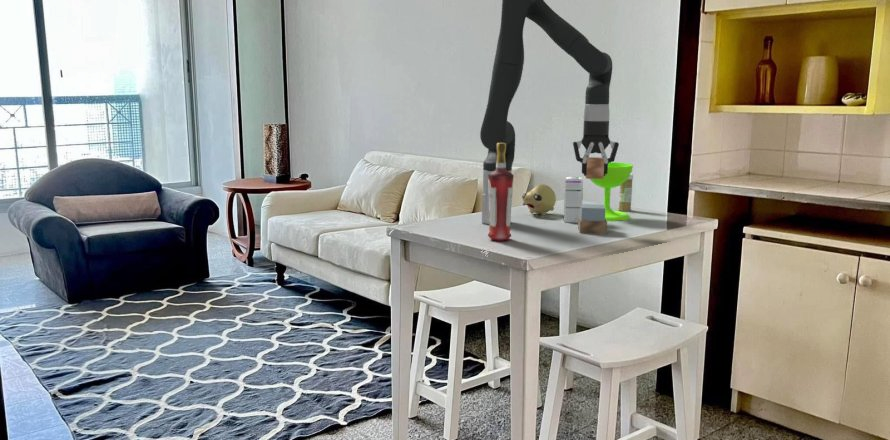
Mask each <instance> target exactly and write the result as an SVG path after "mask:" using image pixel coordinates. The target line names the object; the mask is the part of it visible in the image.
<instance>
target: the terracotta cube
mask: <svg viewBox="0 0 890 440" xmlns="http://www.w3.org/2000/svg"><path fill="white" fill-rule="evenodd" d="M586 164H587V171H586V176H585V178H586V180H587V179H589V180H590V179H603V178H604V159H603V158H602V156H601V157H600V156H599V157H596V156H595V157H594V156H593V157H592V156H589V157H588V158H587V162H586Z"/></svg>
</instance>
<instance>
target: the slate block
mask: <svg viewBox="0 0 890 440" xmlns="http://www.w3.org/2000/svg"><path fill="white" fill-rule="evenodd" d="M580 217H581V221H605V207H604V204H591V203H590V204H588V203H587V204H586V203H582V204H581V213H580Z"/></svg>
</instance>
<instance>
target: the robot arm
mask: <svg viewBox="0 0 890 440" xmlns="http://www.w3.org/2000/svg"><path fill="white" fill-rule="evenodd" d="M501 1H502V2H501V17H500V18H501V19H500V28H499V34H498V39H497V43H496V48H495V49H496V50H495V56H494V60H493V65H492V72H491V73H492V74H491V81H490V85H489V93H488V98H487V99H488V100H487V104H486V109H485V112H484V116H483V121H482V124H481V127H480V132H479V136H480V141H481V143H482V145H483V146H484V147H485V148H486V149H488V150H487V156H486V158H485V159H484V161H483V163H482V164H483V165H482V167H483V168H482V171H483V172H482V173H483V174H482V196H481V197H482V200H481V223H482V224H485V225H486V224H487V225H489V195H488V175H489V174H490V173H491V172H493V171H495V170H496V162H497V143H506V151H505V162H506V171H508V172H510V173H512V174H513V172H512V171H513V169H512V168H513V163H514V160H515V151H516V132H515V128H514V126H513V124H512V123H511V122H510V121H508V116H509V110H510V106H511V103H512V102H513V100H514V97H515V95H516V92H517V91H518V88H519V86H520V83H521V80H522V76H523V72H524V71H523V70H524V65H525V48H524V47H525V46H524V26H525V21H526V18H527V19H528V20H530V21H532V22H534V23H535V24H536V25H537V26H539V27H540V28H541V29H542V30H543V31H544V32H545V33H546V34H547V35H548V36H549V38H550V39H551V40H552V41H553V42H554V43H555V45H557V46H558V47H559V48H560V49H562V51H564V52H565V53H566V54H567V55H569V56H570V57H571V58H573V59H574V60H575V61H576V63H577V64H578V65H579V66H580V67H581V68H582V69H584V71H586V72H587V73H588V75H589V76H588V85H587V86H586V89H585V97H584V98H585V101H584V110H583V134H582V138H581V140H579V141H572V146H573V150H574V155H575V160H576V161H577V162H579V163H581V174H582V175H583V176H586V171H587V164H586V162H587V158H588V157H590V154H595V153H597V154H600V156H601V157H602V158H603V159H604V176H605V174H607V172H608V163H610V162H614V161H615V159H616V155H617V152H618V149H619V146H620V144H619V142H618V141H611V139H610V137H609V135H610V86H611V80H612V73H613V59H612V57H611V56H610V55H609V54H608V53H606V52H603V51H601V50H600V49H598V48H597V47H596V46H594V45H593V44H592V43H591V42H590V41H589V39H588V38H587V37H586V36H585V35H584V34H583V33H581V32H580V31H579V30H578V29H577V28H576V27H575V26H573V25H571V24H570V23H569V22H568V21H566V19H564V18H563V17H561V16H560V15H559V14H557V12H555V11H554V10H553V9H552V8H551V7H550V6H549V4H547V3H546V2H545V0H501ZM581 145H583V147H584V149H585V151H584V155H583V157H581V155H580V150H579V149H580V148H581ZM609 145H610V148H611V153H610V157H608V156H607V153H606V149H607V148H608V147H609ZM511 220H512V219H511ZM511 220H510V223H511Z"/></svg>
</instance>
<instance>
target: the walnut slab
mask: <svg viewBox="0 0 890 440" xmlns="http://www.w3.org/2000/svg"><path fill="white" fill-rule="evenodd" d="M577 224H578V225H577V229H578V232H579V233H580V234H595V235H597V234H601V235H607V234H608V233H607V232H608V231H607V230H608V221H606V219H605V221H581V217H580V216H579V218H578V223H577Z"/></svg>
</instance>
